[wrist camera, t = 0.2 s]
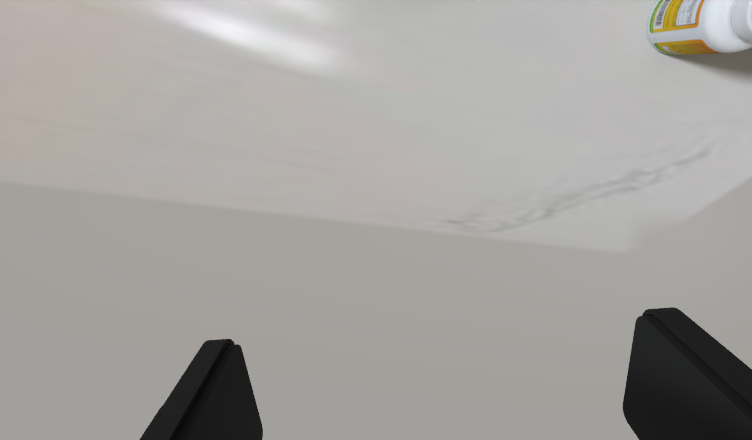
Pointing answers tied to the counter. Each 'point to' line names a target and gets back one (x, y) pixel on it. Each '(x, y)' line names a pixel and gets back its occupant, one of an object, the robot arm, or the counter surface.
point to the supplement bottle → (700, 26)
